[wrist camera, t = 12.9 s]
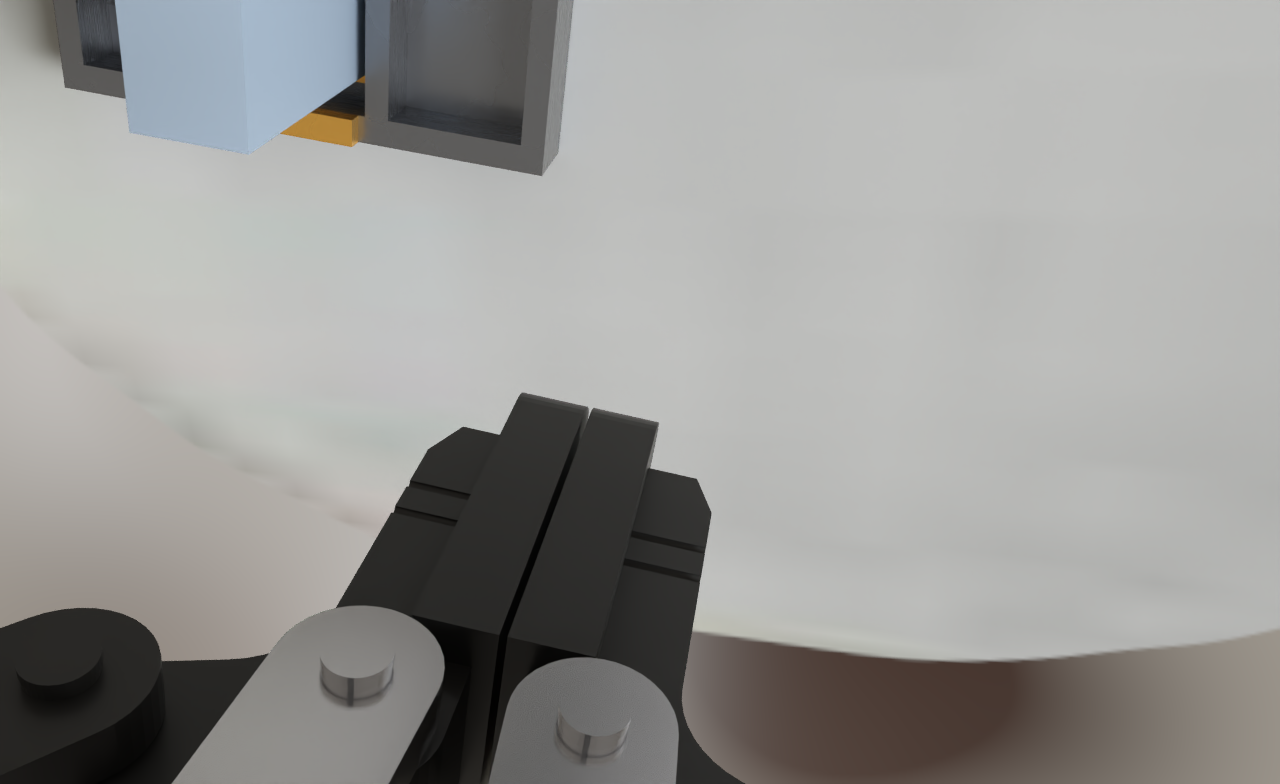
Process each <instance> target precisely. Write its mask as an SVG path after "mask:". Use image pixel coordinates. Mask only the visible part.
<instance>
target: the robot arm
mask: <svg viewBox="0 0 1280 784" xmlns="http://www.w3.org/2000/svg"><path fill="white" fill-rule="evenodd" d="M588 413H589V409H588V407H585V406H581V405H576V404H572V403H567V402H563V401H559V400H554V399H550V398H545V397H541V396H536V395H532V394H527V393H521V394H520V396H519V397H518V399H517V401H516V403H515V405H514V407H513V409H512V411H511V413H510V415H509V417H508V420H507V422H506V424H505V426H504V428H503V430H502V432H501V434H500V435H498V434H493V433H489V432H484V431H480V430H475V429H471V428H467V427H462V428H460V429H459V430H457V431H456V432H454V433H453V434H451V435H450V436H448V437H446V438H445V439H443V440H442V441H440V442H439V443H437V444H436V445H434V446H433V447H431V448H430V449H428V451H427V452H426V454H425V456H424V458H423V459H422V461H421V463H420V464H419V466H418V468H417V470H416V471H415V473H414V475H413V476H412V478H411V480H410V484H409V487H406V488H405V490H404V492H403V494H402V495H401V497H400V499H399V501H398V502H397V504H396V506H395V510H394V513H391V514H390V516H389V518H388V519H387V521H386V523H385V525H384V526H383V528H382V530H381V531H380V533H379V535H378V537H377V538H376V540H375V542H374V543H373V545H372V547H371V549H370V550H369V552H368V554H367V555H366V557H365V559H364V561H363V562H362V564H361V566H360V568H359V569H358V571H357V573H356V574H355V576H354V578H353V580H352V581H351V583H350V585H349V586H348V588H347V590H346V592H345V593H344V595H343V597H342V599H341V600H340V602H339V604H338V605H337V607H336V608H334V609H331V610H327V611H323V612H320V613H318V614H316V615H313V616H311V617H308V618H306V619H305V620H303V621H301V622H300V623H298V624H296V625H295V626H294V627H293V628H291V629H290V630H289V631H288V632H286V633H285V634H284V636H283V637H282V638H281V639H280V640H279V641H278V642H277V644H276V645H275V646H274V647H273V649H272V650H271V652H270V653H269V654H265V655H261V656H255V657H250V658H243V659H230V660H195V661H162V660H161V653H160V649H159V646H158V643H157V641H156V639H155V637H154V635H152V633H151V632H150V631H149V630H148V629H147V628H146V627H145V626H144V625H142V624H141V623H139V622H138V621H137V620H135V619H133V618H131V617H128V616H126V615H124V614H121V613H117V612H114V611H109V610H103V609H96V608H74V609H64V610H58V611H52V612H48V613H43V614H40V615H37V616H34V617H30V618H27V619H25V620H22V621H19V622H16V623H14V624H11V625H8V626H5V627H3V628H0V784H745V783H743V782H741V781H740V780H738V779H736V778H735V777H733V776H732V775H730V774H729V773H727V772H725V771H724V770H723V769H722V768H721V767H720V766H718V765H717V764H716V763H715V762H713V761H712V759H711V758H710V757H709V756H707V754H706V753H705V752H704V751H703V750H702V749H701V747H700V746H699V744H698V743H697V742H696V740H695V739H694V737H693V736H692V733H691V732H690V730H689V728H688V726H687V723H686V720H685V717H684V713H683V707H682V688H683V682H684V676H685V670H686V663H687V658H688V652H689V645H690V639H691V634H692V628H693V622H694V616H695V610H696V604H697V598H698V592H699V585H700V578H701V573H702V567H703V561H704V555H705V554H704V553H705V549H706V543H707V537H708V531H709V525H710V519H711V511H710V508H709V506H708V504H707V501H706V499H705V497H704V494H703V492H702V490H701V487H700V485H699V483H698V480H697V479H694V478H690V477H686V476H681V475H677V474H672V473H668V472H663V471H659V470H654V469H650V466H651V462H652V457H653V452H654V447H655V442H656V437H657V432H658V426H659V423H658V422H654V421H649V420H645V419H641V418H636V417H632V416H627V415H623V414H618V413H614V412H609V411H605V410H600V409H596V408H593V409H592V411H591V414H590V416H589V419H588Z"/></svg>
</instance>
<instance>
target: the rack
mask: <svg viewBox="0 0 1280 784" xmlns="http://www.w3.org/2000/svg"><path fill="white" fill-rule="evenodd" d="M53 2H54V10H55V17H56V24H57V32H58V39H59V46H60V54H61V61H62V69H63V76H64V83H65V88H71V89H76V90H82V91H87V92H92V93H98V94H103V95H109V96H114V97H119V98H125V99H126V96H125V87H124V78H123V69H122V60H121V51H120V42H119V33H118V24H117V15H116V6H115V0H53ZM572 8H573V0H366V13H365V76H363V77H362V78H360V79H359V80H357V81H356V82H354V83H353V84H351V85H350V86H348V87H347V88H345V89H344V90H343V91H341V92H340V93H338V94H337V95H335V96H334V97H332V98H331V99H329V100H328V101H326V102H325V103H324V104H322V105H321V106H319V107H318V108H316V109H315V110H313V111H312V112H310V113H309V114H307V115H306V116H305V117H303V118H302V119H300V120H299V121H297V122H296V123H294V124H293V125H291V126H290V127H288V128H287V129H285V130H284V131H283V132H281V133H280V134H285V135H290V136H296V137H301V138H306V139H312V140H317V141H322V142H328V143H333V144H339V145H344V146H349V147H353V146H354V145H355V144H356V143H357V142H362V143H367V144H373V145H378V146H383V147H389V148H394V149H399V150H405V151H410V152H416V153H421V154H426V155H432V156H437V157H443V158H448V159H453V160H459V161H464V162H470V163H475V164H480V165H486V166H491V167H496V168H502V169H507V170H513V171H518V172H523V173H529V174H534V175H540V176H542V175H543V174H544V172H545V171H546V169H547V168H548V166H549V165H550V164H551V162H552V161H553V159H554V158H555V156H556V155H557V154H558V148H559V138H560V128H561V118H562V108H563V98H564V88H565V78H566V68H567V58H568V48H569V38H570V28H571V18H572Z"/></svg>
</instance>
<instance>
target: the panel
mask: <svg viewBox="0 0 1280 784" xmlns="http://www.w3.org/2000/svg"><path fill="white" fill-rule="evenodd" d="M115 6H116V15H117V24H118V33H119V42H120V51H121V60H122V69H123V78H124V87H125V96H126V105H127V114H128V123H129V132H130V133H134V134H140V135H145V136H151V137H156V138H161V139H167V140H172V141H178V142H183V143H189V144H194V145H200V146H205V147H210V148H216V149H221V150H227V151H232V152H238V153H243V154H248V155H249V154H250V153H252V152H253V151H255V150H256V149H258V148H259V147H261V146H262V145H264V144H265V143H266V142H268V141H269V140H271V139H272V138H274V137H275V136H277V135H278V134H280V133H281V132H283V131H284V130H285V129H287V128H288V127H290V126H291V125H293V124H294V123H296V122H297V121H299V120H300V119H302V118H303V117H305V116H306V115H307V114H309V113H310V112H312V111H313V110H315V109H316V108H318V107H319V106H321V105H322V104H324V103H325V102H326V101H328V100H329V99H331V98H332V97H334V96H335V95H337V94H338V93H340V92H341V91H343V90H344V89H345V88H347V87H348V86H350V85H351V84H353V83H354V82H356V81H357V80H359V79H360V78H362V77H363V76H365V13H366V0H115Z"/></svg>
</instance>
